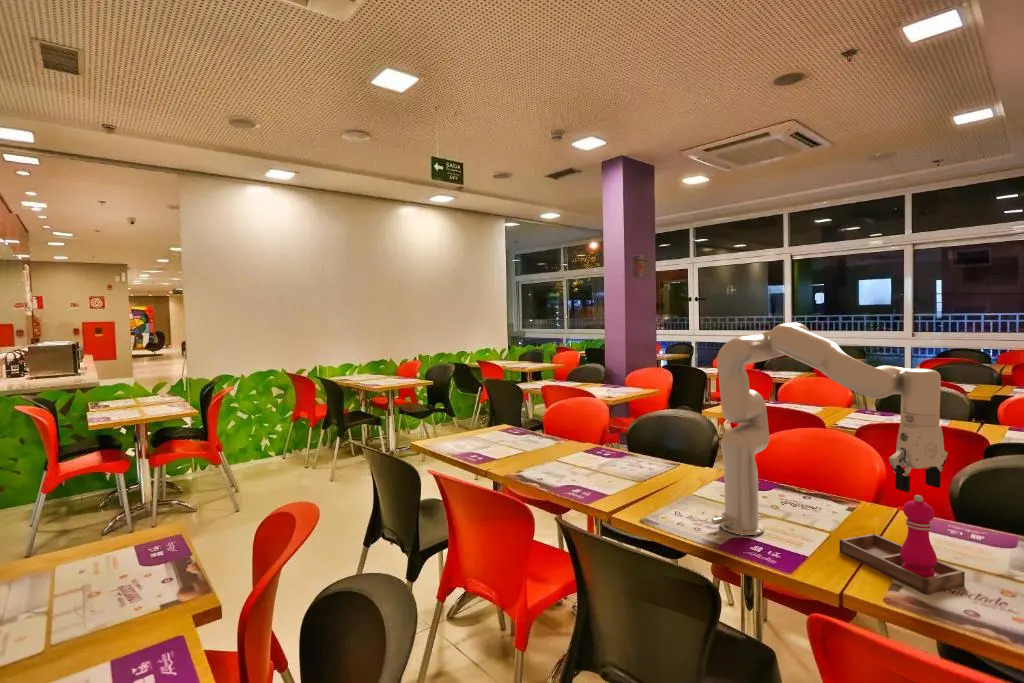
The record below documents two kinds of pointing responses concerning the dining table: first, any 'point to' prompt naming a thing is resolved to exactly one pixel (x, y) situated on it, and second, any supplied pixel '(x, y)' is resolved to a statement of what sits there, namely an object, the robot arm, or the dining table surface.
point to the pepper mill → (918, 538)
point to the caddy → (899, 564)
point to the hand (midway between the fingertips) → (917, 488)
